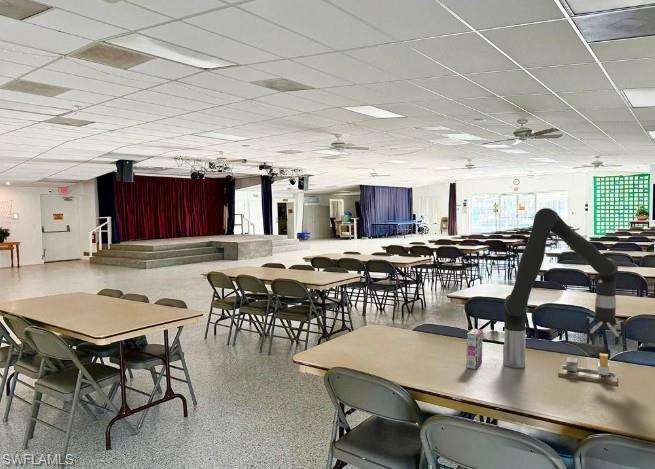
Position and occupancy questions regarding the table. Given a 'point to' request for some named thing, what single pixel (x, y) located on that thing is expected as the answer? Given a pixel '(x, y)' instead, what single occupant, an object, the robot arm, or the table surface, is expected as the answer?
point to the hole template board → (585, 373)
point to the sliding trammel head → (603, 365)
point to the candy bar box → (474, 349)
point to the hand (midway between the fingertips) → (603, 343)
